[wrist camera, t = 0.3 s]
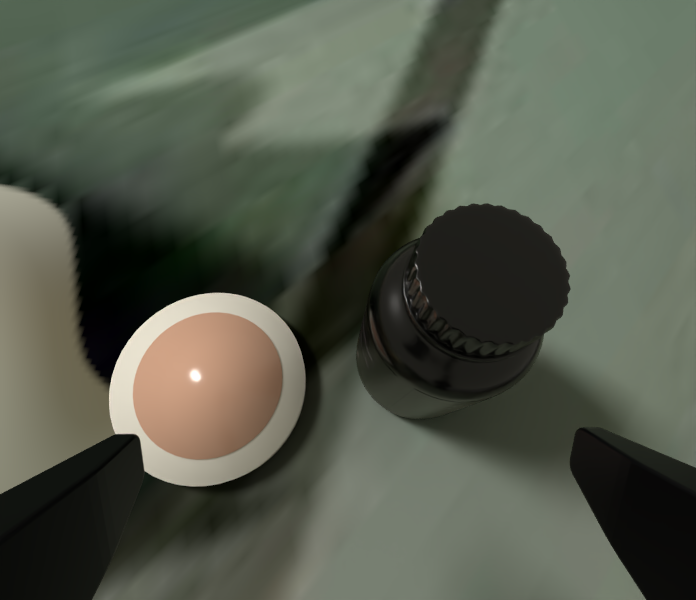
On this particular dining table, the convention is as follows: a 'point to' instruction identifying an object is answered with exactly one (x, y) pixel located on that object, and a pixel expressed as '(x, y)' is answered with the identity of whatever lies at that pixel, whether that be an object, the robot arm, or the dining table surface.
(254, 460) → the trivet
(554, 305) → the supplement bottle
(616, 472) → the robot arm
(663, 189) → the dining table surface
